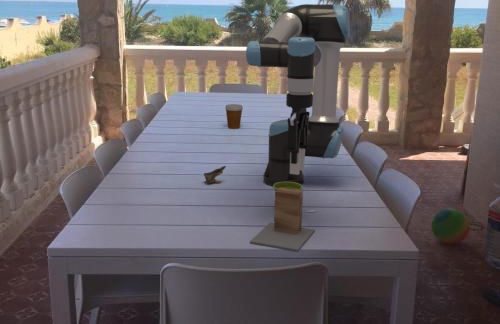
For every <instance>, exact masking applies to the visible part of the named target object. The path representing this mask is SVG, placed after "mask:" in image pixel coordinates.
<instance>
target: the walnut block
mask: <svg viewBox="0 0 500 324" xmlns="http://www.w3.org/2000/svg"><path fill="white" fill-rule="evenodd" d="M303 195H304V193H303V190H301V191H300V190H293V189H285V188H279V189H278V190H276V191H275V190H274V220H273V221H274V222H273V223H274V231H277V232H284V233H290V234H296V235H297V234H298V233H299V232H300V231H301V227H302V222H303V221H302V220H303V199H304V198H303Z"/></svg>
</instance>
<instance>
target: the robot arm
mask: <svg viewBox="0 0 500 324" xmlns="http://www.w3.org/2000/svg"><path fill="white" fill-rule="evenodd" d="M350 35H351V23H350V14H349V10H348V8H347V6H346V5H343V4H334V3H333V4H331V3H330V4H329V3H328V4H326V3H325V4H321V3H320V4H313V3H312V4H309V3H305V4H299V5H295V6H293V7H291V8H288V9H286V10H285V11H283V12H282V13H281V14H279V16H278V17H277V18H276V20H275V22H274V26H273V27H272V28H271V29H270V30H269V32H267V34H266V35H265V36H264V37H263V38H262V40H253V41H249V42H248V43H247V44H246V50H245V51H246V52H245V58H246V63H247V64H248V65H249V66H252V67H259V68H262V67H264V68H286V69H287V70H286V72H287V73H286V80H285V84H286V91H287V92H288V93H287V94H286V97H285V98H286V102H285V104H286V107H289V108H290V109H291V113H290V115H289V116H290V117H288V118H287V119H279V120H276V121H273V122H272V123H270V126H269V131H268V159H267V160H268V162H267V164H266V167H265V169H264V173H263V177H262V178H263V183H265V184H267V186H271V187H273V185H274V184H275V183H278V182H295V183H298V184H301V185H303V184H304V182H305V181H304V180H305V175H304V173H303V171H305V160H306V159H305V157H309V158H320V159H335V158H336V157H337V156H338V155H339V152H340V149H341V144H342V141H343V136H344V128H343V126H340V120H339V119H338V118H337V117H336V114H337V104H338V103H337V101H338V100H337V99H338V98H337V97H338V87H339V86H338V85H339V84H338V83H339V74H340V73H339V72H340V71H339V70H340V69H339V68H340V57H341V56H340V55H341V49H342V48H343V47H344V46H345V44H346V40H349V39H350V37H351V36H350ZM309 108H311V113H310V111H307V110H308V109H309ZM310 114H311V115H310Z"/></svg>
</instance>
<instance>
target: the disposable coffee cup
mask: <svg viewBox="0 0 500 324" xmlns="http://www.w3.org/2000/svg"><path fill="white" fill-rule="evenodd" d="M224 109H225V112H226V121H227V128H228V129H231V130H238V129H240V128H241V121H242V113H243V109H244V108H243V105H242V104H237V103H235V104H233V103H232V104H231V103H230V104H226V105H225V107H224Z"/></svg>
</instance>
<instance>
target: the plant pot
mask: <svg viewBox="0 0 500 324" xmlns="http://www.w3.org/2000/svg"><path fill="white" fill-rule="evenodd" d="M272 188H273V189H274V192H275V191H276V190H278V189H279V188H285V189H293V190H300V191H302V190H303V184H298V183H295V182H278V183H275V184H274V185H273V186H272Z"/></svg>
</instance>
